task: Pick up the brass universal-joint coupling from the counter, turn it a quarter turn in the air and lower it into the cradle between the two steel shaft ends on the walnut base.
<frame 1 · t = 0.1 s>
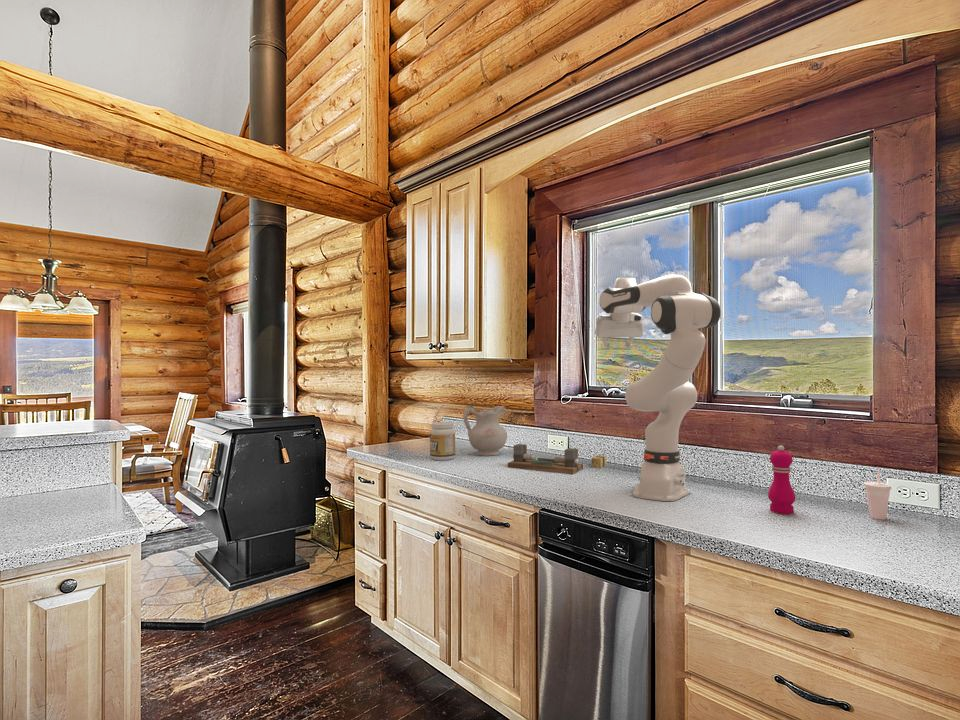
hand: (617, 346, 222), 52 cm above the worktop, fingers open, 8 cm apart
ceramic pitcher: (485, 454, 260), on the worktop
supplement tub: (442, 458, 250), on the worktop
pepper mill: (781, 511, 158), on the worktop
shaft stand: (545, 467, 225), on the worktop
coupling: (599, 466, 228), on the worktop
smoothie: (877, 518, 151), on the worktop
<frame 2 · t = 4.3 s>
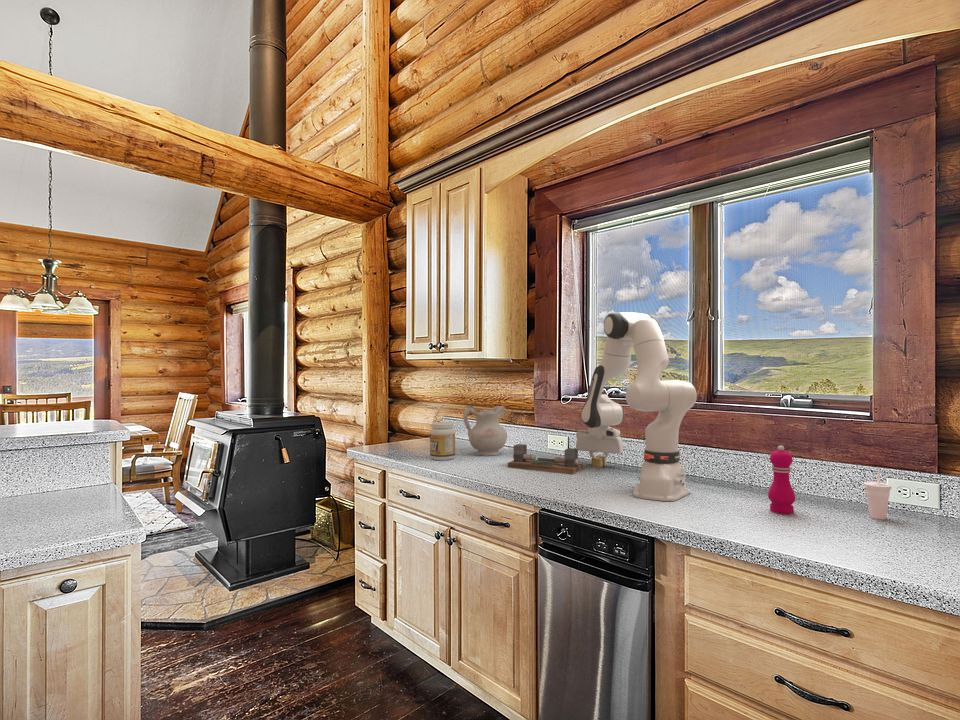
hand: (599, 462, 228), 2 cm above the worktop, fingers closed on coupling, 3 cm apart
coupling: (599, 466, 228), on the worktop, touching gripper
everything else where it was.
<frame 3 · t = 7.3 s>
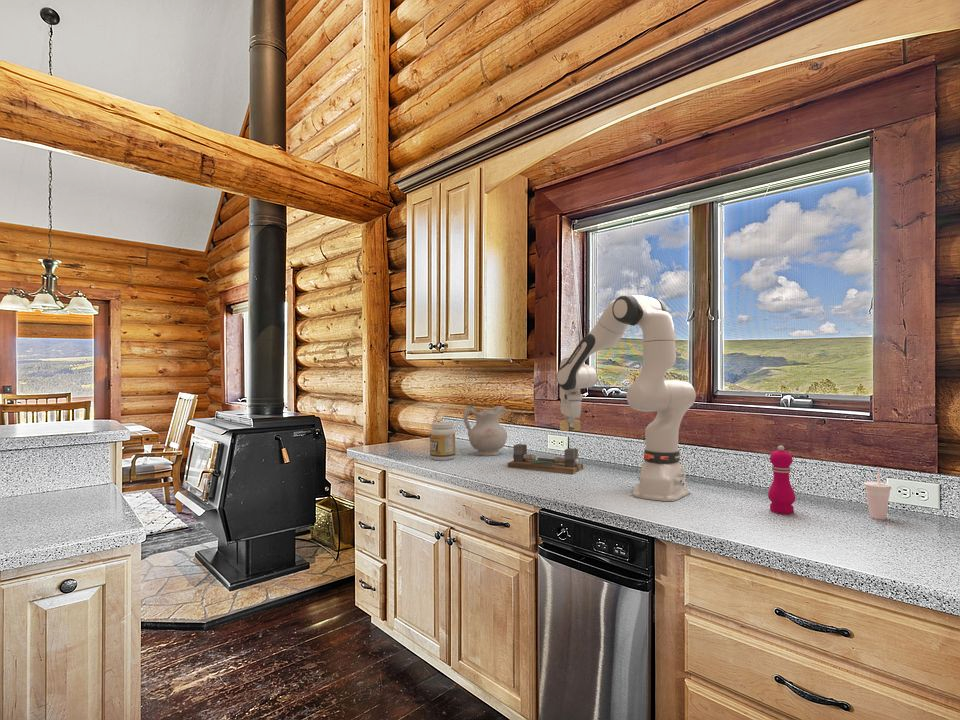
hand: (570, 426, 227), 18 cm above the worktop, fingers closed on coupling, 3 cm apart
coupling: (570, 430, 227), point 16 cm above the worktop, touching gripper
everything else where it was.
when the fingers open (5 cm above the worktop, at t = 10.1 s): coupling stays where it is, resting on shaft stand.
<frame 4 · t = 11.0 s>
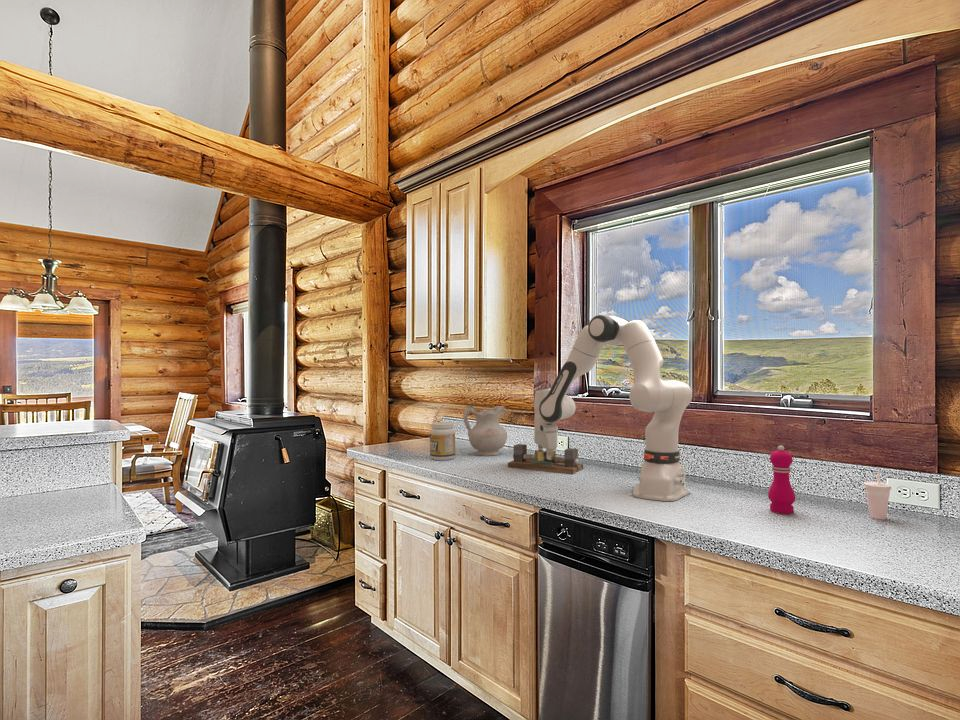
hand: (545, 457, 225), 5 cm above the worktop, fingers open, 8 cm apart
coupling: (545, 459, 225), point 3 cm above the worktop, touching shaft stand
everything else where it was.
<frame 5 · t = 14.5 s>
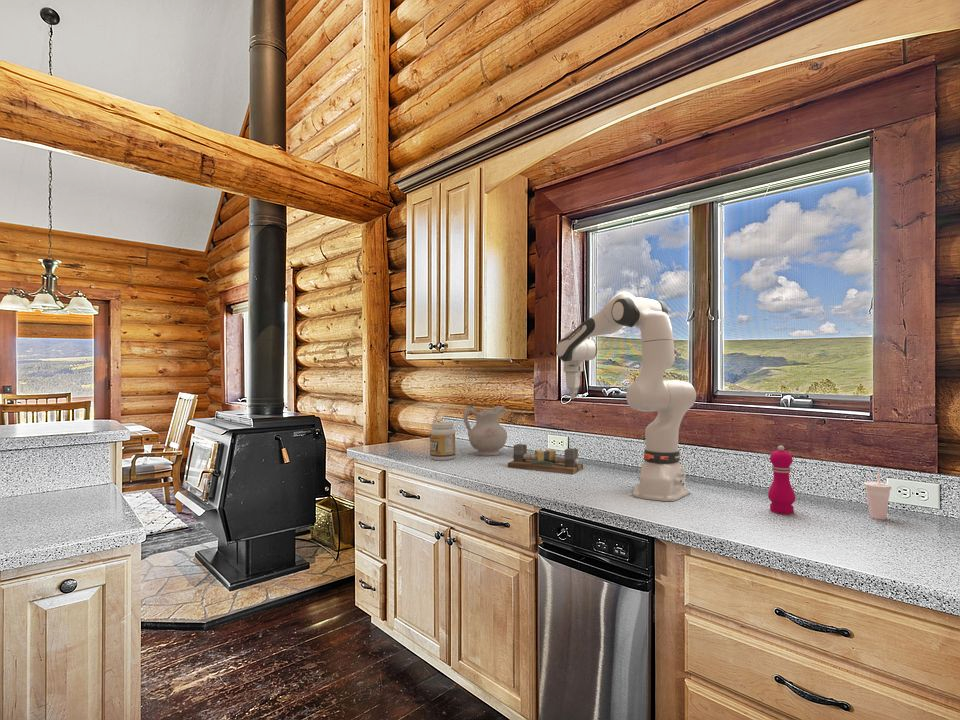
hand: (573, 398, 238), 29 cm above the worktop, fingers open, 8 cm apart
nothing on the worktop moved.
at the end: coupling 0.1 cm off-centre on the shaft stand, point 3.5 cm above the shaft stand's base; coupling tilted 0°; the gripper is holding nothing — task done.
